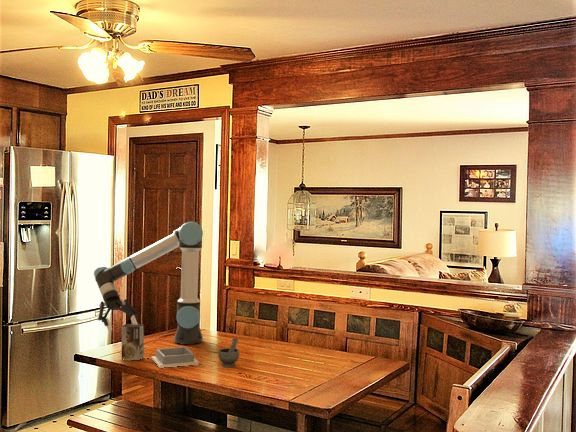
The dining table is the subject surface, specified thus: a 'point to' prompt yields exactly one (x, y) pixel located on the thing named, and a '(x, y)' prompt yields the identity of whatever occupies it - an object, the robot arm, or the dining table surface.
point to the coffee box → (132, 341)
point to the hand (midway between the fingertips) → (124, 329)
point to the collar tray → (174, 357)
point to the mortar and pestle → (229, 354)
